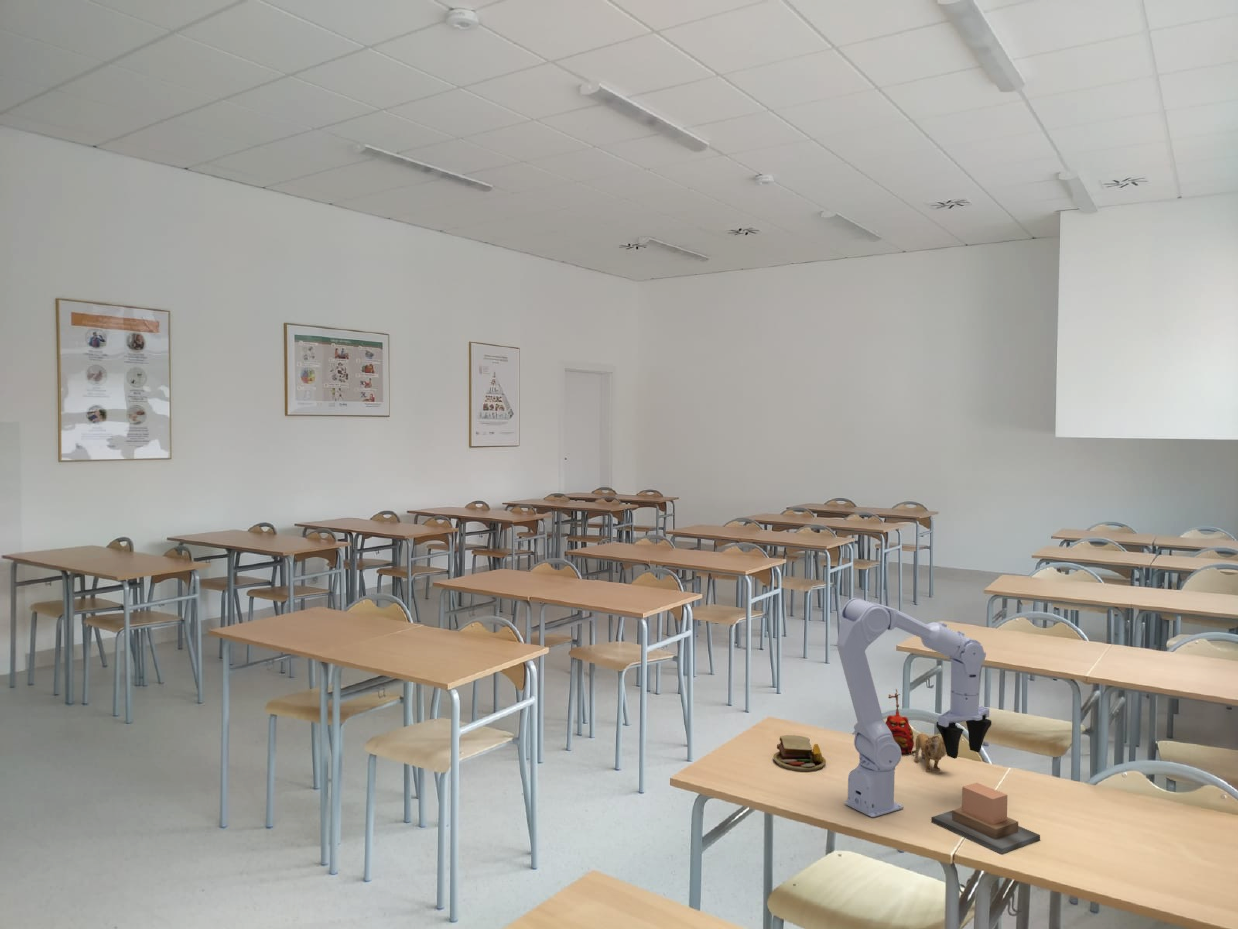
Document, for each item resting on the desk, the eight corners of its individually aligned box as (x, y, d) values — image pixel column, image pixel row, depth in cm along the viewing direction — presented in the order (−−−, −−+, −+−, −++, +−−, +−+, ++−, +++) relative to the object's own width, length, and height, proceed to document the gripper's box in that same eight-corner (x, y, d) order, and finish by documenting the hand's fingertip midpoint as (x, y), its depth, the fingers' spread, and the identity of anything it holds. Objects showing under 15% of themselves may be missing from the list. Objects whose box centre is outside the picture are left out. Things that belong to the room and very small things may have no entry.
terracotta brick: (992, 824, 166) (993, 799, 166) (961, 811, 172) (962, 786, 172) (1006, 820, 168) (1007, 794, 168) (976, 806, 174) (976, 782, 174)
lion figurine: (954, 776, 199) (955, 738, 199) (934, 777, 198) (935, 739, 197) (920, 754, 213) (921, 718, 213) (901, 755, 212) (901, 719, 212)
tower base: (1001, 854, 160) (1001, 838, 160) (931, 822, 174) (931, 807, 174) (1040, 840, 166) (1040, 825, 166) (969, 810, 180) (969, 795, 180)
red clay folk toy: (883, 754, 213) (884, 695, 212) (880, 745, 219) (881, 687, 219) (915, 757, 211) (916, 697, 211) (911, 747, 218) (912, 689, 218)
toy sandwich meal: (773, 771, 201) (773, 751, 201) (772, 751, 214) (773, 732, 214) (827, 775, 199) (828, 755, 199) (823, 755, 212) (823, 736, 212)
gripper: (958, 701, 178) (957, 765, 178) (1002, 692, 185) (1000, 754, 185) (930, 693, 184) (929, 755, 184) (974, 684, 191) (973, 744, 191)
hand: (963, 754), depth 185 cm, fingers open, 7 cm apart
